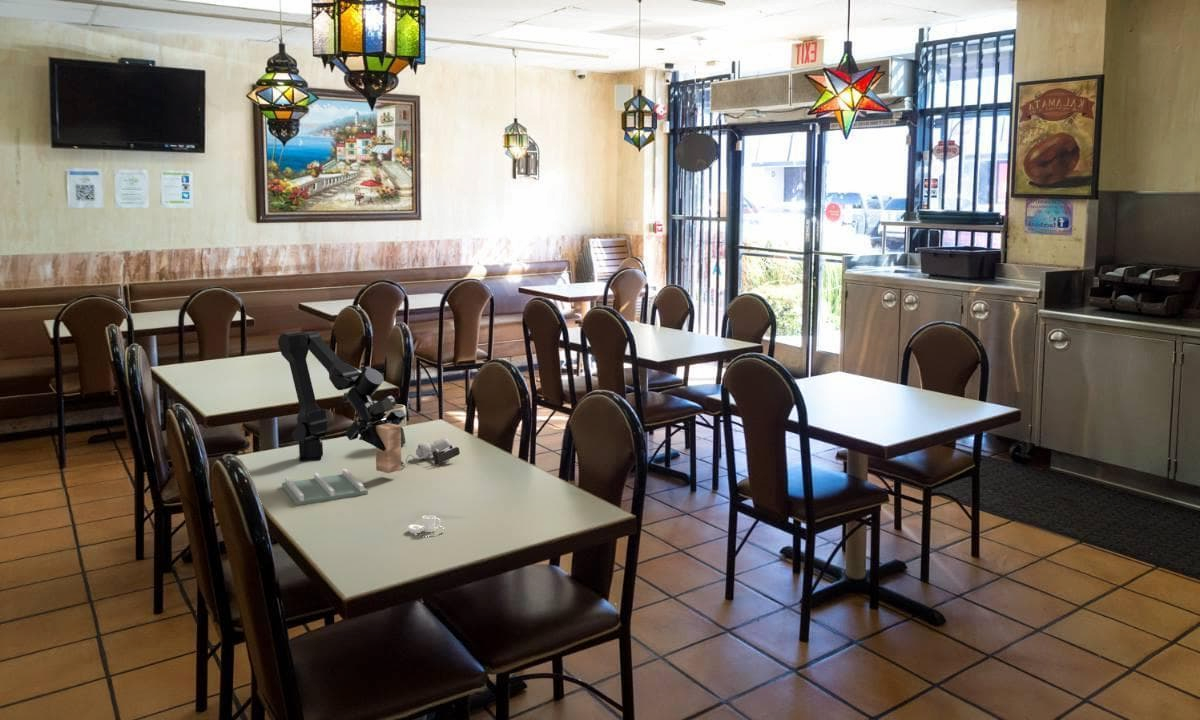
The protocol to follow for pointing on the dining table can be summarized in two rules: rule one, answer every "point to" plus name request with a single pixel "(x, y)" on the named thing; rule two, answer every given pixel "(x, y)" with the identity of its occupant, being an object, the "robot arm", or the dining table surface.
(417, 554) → the dining table surface
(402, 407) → the character mug
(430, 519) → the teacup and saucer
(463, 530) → the dining table surface
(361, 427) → the robot arm
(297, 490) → the slot board
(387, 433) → the plug block
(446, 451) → the clip-on lamp
